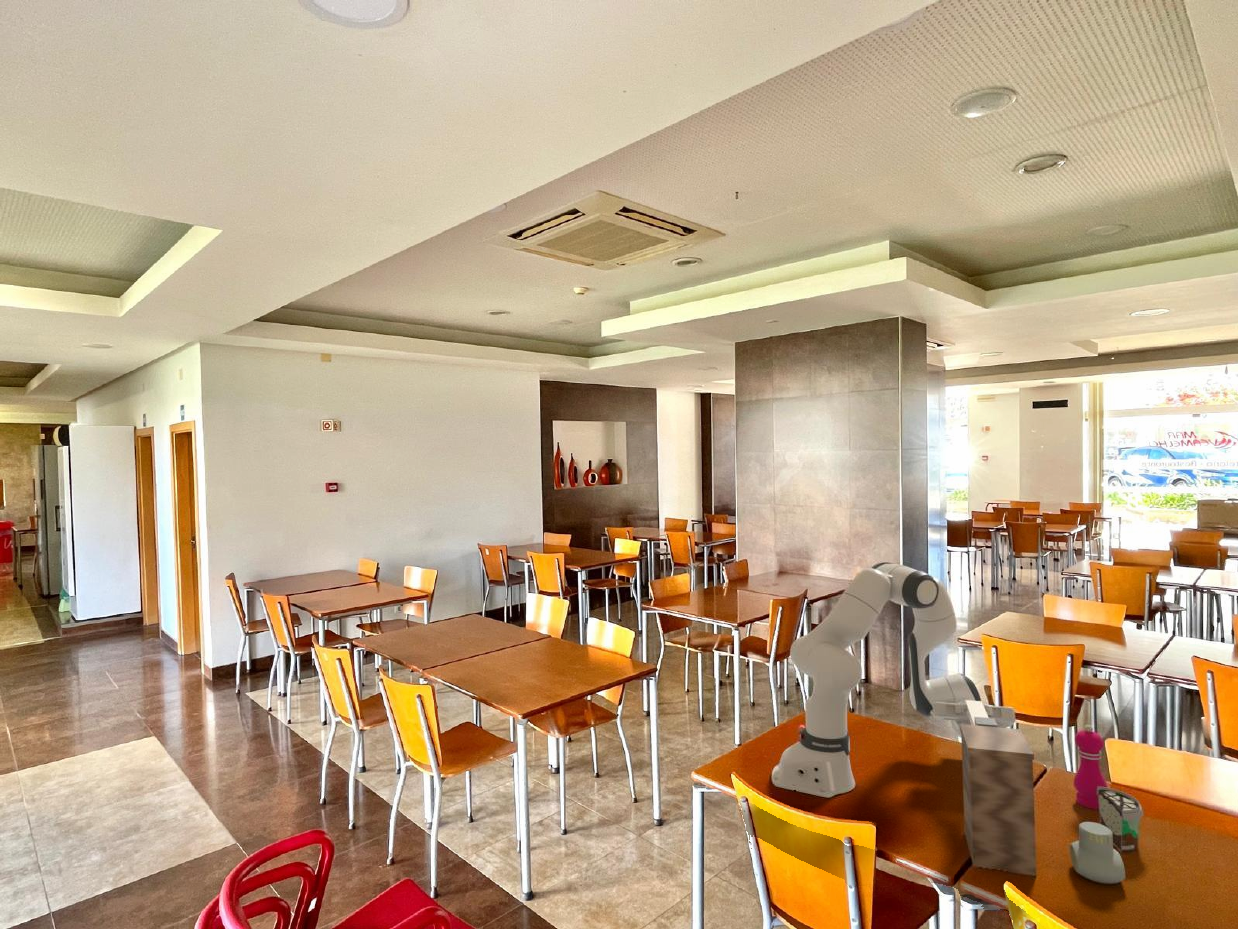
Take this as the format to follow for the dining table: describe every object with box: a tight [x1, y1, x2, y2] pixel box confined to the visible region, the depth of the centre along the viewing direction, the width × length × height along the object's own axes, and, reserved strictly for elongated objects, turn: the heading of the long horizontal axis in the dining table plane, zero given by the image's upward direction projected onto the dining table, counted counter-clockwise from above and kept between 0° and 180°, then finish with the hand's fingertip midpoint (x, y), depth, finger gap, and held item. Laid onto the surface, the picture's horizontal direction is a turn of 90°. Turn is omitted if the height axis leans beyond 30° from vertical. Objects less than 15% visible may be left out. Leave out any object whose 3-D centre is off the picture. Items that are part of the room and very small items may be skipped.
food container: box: [1097, 787, 1144, 854], centre depth 156 cm, size 12×6×10 cm, turn 168°
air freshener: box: [1069, 821, 1126, 885], centre depth 144 cm, size 11×8×10 cm
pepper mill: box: [1073, 724, 1109, 810], centre depth 174 cm, size 7×7×20 cm
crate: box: [960, 724, 1038, 877], centre depth 153 cm, size 13×14×26 cm
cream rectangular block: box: [965, 700, 997, 727], centre depth 174 cm, size 4×22×6 cm, turn 160°
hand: (975, 707), depth 182 cm, fingers closed on cream rectangular block, 4 cm apart
